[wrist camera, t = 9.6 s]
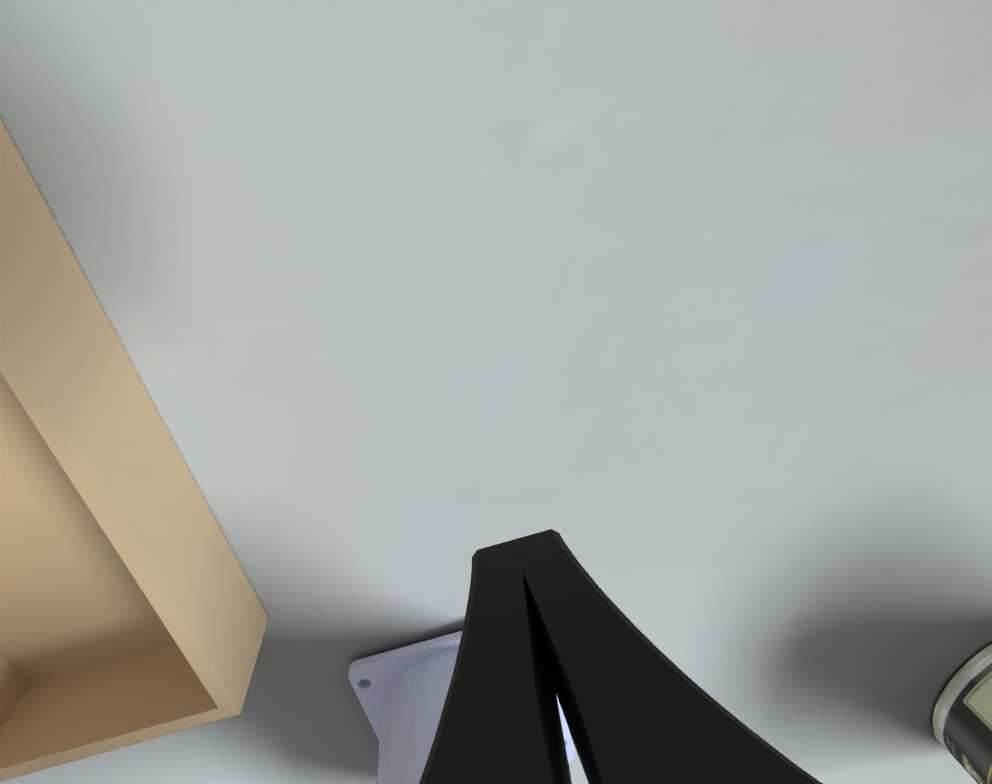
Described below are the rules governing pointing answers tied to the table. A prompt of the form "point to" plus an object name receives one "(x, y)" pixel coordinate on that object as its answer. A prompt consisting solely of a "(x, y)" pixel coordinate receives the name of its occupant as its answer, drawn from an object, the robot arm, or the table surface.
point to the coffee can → (968, 716)
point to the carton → (98, 526)
